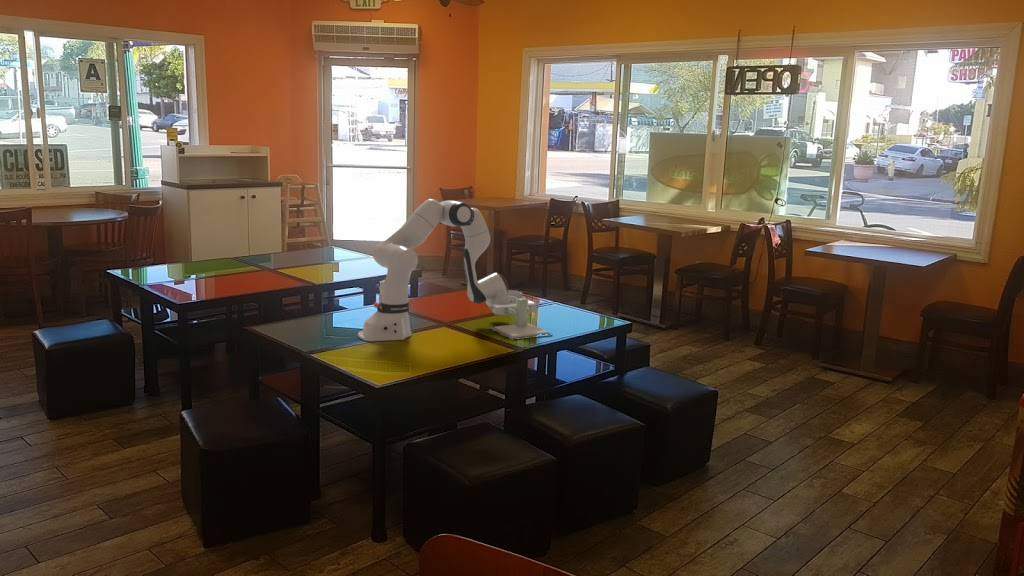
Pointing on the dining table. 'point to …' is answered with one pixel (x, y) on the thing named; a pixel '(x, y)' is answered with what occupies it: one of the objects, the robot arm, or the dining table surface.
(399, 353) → the dining table surface
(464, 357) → the dining table surface
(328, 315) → the dining table surface
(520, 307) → the grey upright block
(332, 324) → the dining table surface
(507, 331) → the tile
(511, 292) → the teacup
